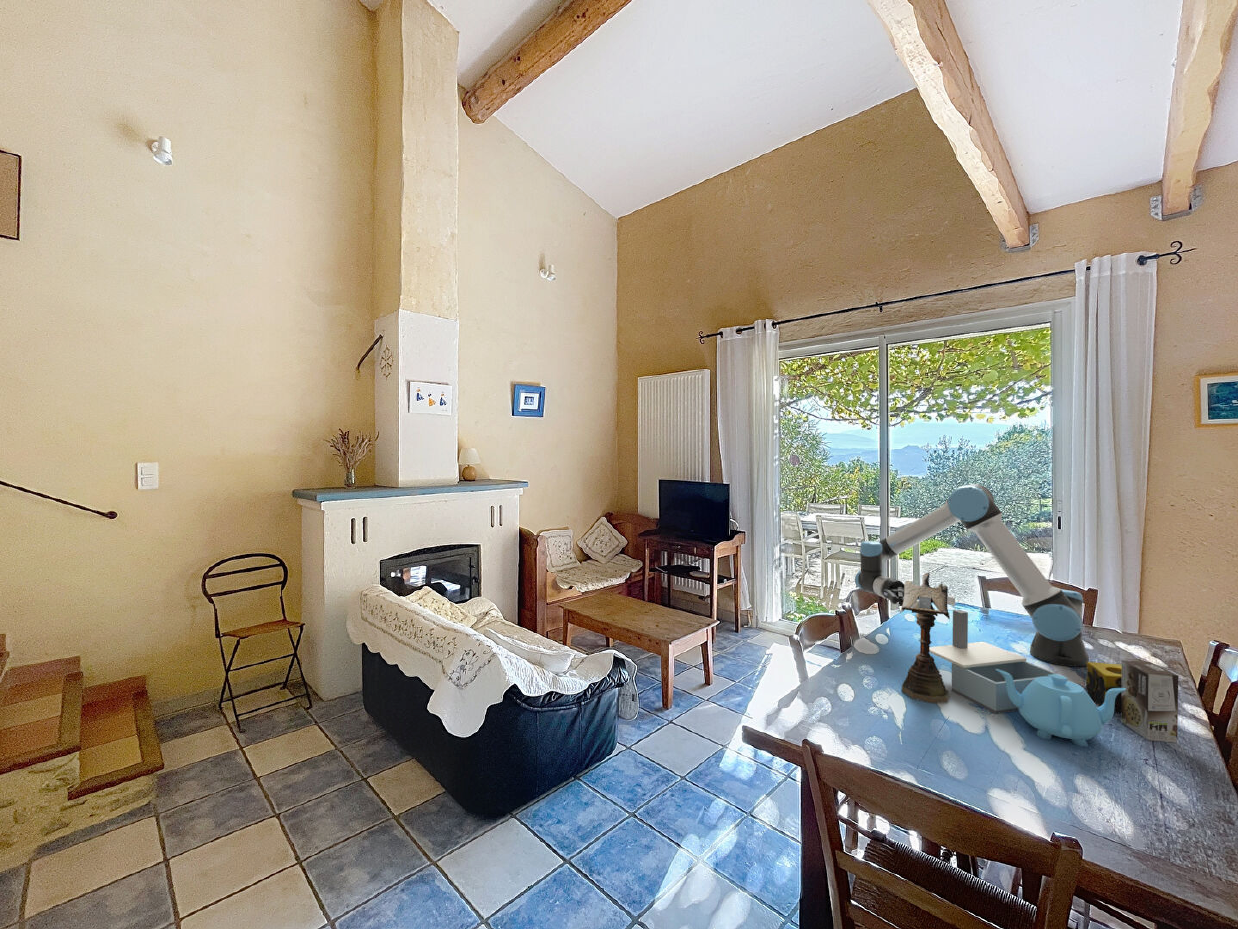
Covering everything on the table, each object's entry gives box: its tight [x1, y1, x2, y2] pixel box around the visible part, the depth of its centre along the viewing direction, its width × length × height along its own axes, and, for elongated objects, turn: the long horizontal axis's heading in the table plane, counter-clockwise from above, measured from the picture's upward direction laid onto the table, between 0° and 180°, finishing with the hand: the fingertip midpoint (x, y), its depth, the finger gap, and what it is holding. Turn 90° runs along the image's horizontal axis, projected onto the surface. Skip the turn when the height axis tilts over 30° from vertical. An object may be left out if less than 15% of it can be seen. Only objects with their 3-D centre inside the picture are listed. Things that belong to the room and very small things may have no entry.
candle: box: [1085, 661, 1122, 714], centre depth 144 cm, size 10×10×10 cm
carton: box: [951, 660, 1060, 715], centre depth 149 cm, size 22×14×8 cm, turn 103°
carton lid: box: [929, 609, 1027, 668], centre depth 158 cm, size 22×14×12 cm, turn 103°
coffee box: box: [1120, 660, 1179, 744], centre depth 130 cm, size 9×6×16 cm
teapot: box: [996, 669, 1126, 747], centre depth 130 cm, size 16×20×14 cm
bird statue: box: [899, 572, 955, 704], centre depth 149 cm, size 17×13×35 cm
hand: (937, 603), depth 174 cm, fingers open, 13 cm apart
